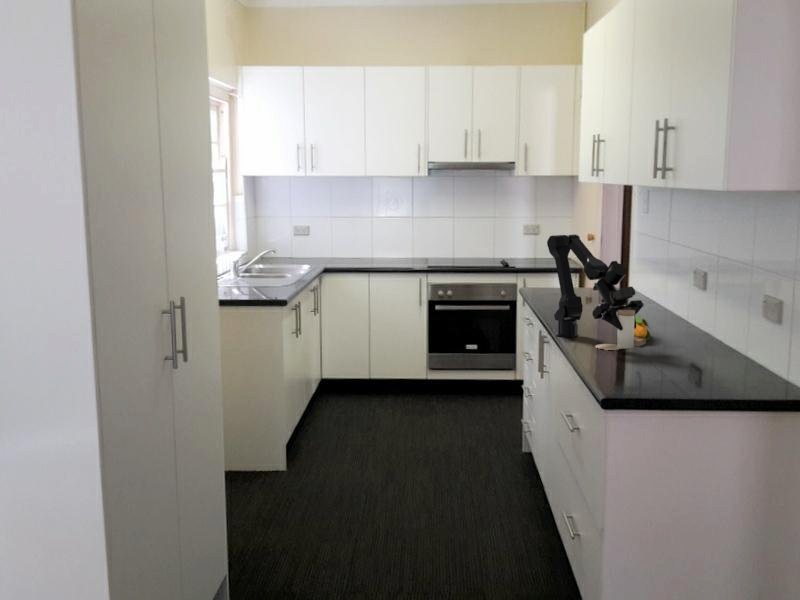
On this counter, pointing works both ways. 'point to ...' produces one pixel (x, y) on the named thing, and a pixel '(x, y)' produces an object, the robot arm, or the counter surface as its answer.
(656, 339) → the counter surface
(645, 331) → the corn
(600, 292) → the robot arm
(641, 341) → the tile
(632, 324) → the jar
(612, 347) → the coaster
